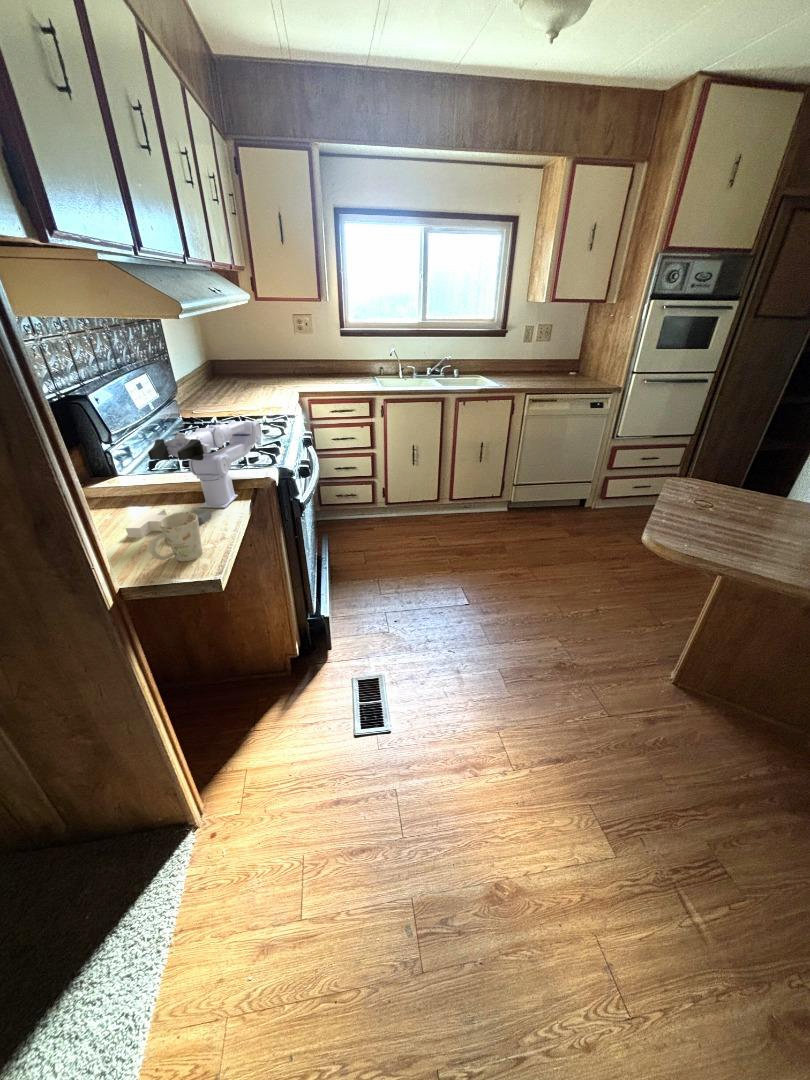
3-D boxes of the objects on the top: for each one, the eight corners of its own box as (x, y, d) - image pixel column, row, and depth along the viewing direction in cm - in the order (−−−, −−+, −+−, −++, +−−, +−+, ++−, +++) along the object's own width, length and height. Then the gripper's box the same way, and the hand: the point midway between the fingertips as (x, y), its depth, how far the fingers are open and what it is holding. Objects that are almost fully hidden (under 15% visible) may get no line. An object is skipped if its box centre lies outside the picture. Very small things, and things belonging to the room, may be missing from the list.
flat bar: (195, 515, 126) (193, 509, 125) (211, 516, 126) (209, 510, 125) (165, 541, 113) (163, 535, 112) (183, 542, 113) (181, 535, 112)
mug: (214, 551, 108) (204, 516, 103) (168, 576, 99) (155, 538, 94) (193, 543, 112) (183, 509, 107) (147, 566, 102) (134, 530, 97)
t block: (154, 517, 126) (151, 508, 124) (190, 518, 125) (187, 509, 123) (129, 537, 115) (125, 527, 114) (167, 538, 115) (164, 528, 113)
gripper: (165, 429, 118) (133, 439, 106) (215, 430, 117) (188, 440, 105) (171, 454, 121) (140, 467, 109) (220, 455, 120) (195, 468, 108)
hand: (164, 455), depth 107 cm, fingers open, 7 cm apart
